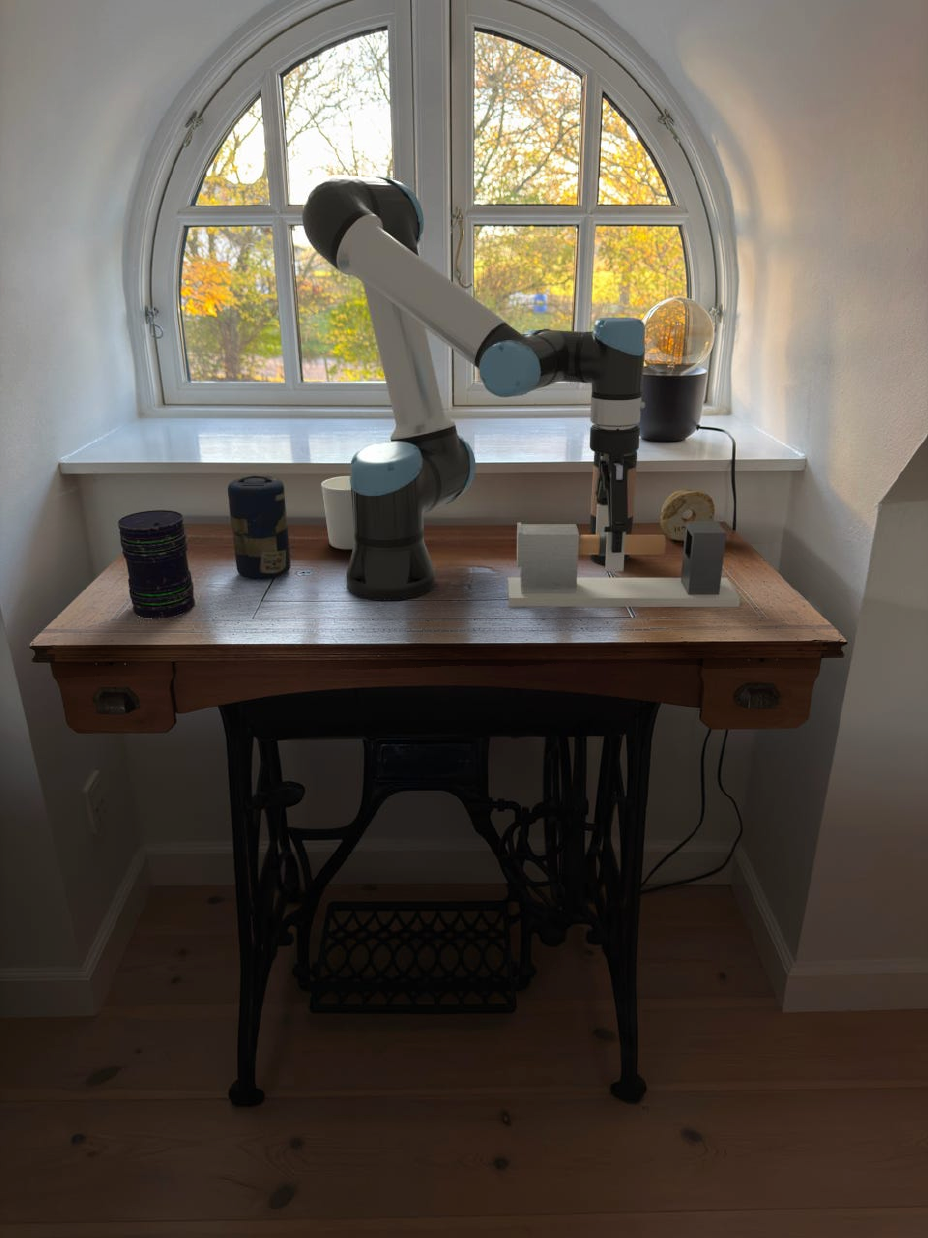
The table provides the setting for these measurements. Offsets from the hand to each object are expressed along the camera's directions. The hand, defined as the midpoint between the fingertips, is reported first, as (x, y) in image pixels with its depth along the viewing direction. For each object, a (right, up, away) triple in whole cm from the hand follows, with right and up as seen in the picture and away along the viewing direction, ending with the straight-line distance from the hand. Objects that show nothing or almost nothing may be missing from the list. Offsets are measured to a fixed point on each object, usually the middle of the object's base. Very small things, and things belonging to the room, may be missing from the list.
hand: (608, 555), depth 144 cm
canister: (-59, -2, +14) cm, 61 cm away
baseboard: (+2, -6, +3) cm, 7 cm away
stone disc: (+19, +5, +29) cm, 35 cm away
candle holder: (-46, +4, +29) cm, 54 cm away
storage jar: (-72, -8, 0) cm, 73 cm away
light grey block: (-10, -5, +3) cm, 11 cm away
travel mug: (+3, +1, +19) cm, 20 cm away
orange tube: (-2, 0, 0) cm, 2 cm away
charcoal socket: (+15, -5, +2) cm, 16 cm away
